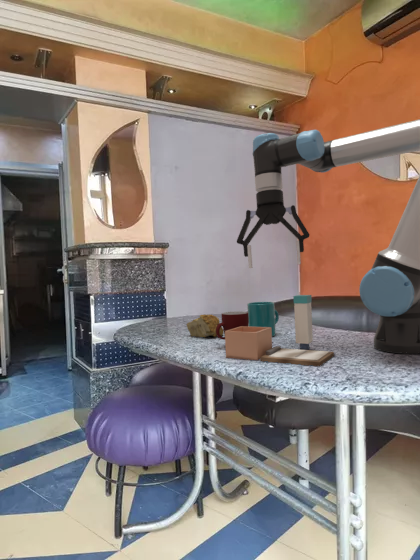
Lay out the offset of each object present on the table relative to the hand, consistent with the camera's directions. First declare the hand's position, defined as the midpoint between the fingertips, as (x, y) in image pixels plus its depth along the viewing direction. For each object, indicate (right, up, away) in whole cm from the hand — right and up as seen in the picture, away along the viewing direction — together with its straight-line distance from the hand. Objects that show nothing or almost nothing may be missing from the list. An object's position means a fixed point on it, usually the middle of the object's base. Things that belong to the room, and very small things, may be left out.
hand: (274, 266), depth 116 cm
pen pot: (-8, -24, -7) cm, 26 cm away
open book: (+4, -24, -13) cm, 27 cm away
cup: (+1, -23, +24) cm, 33 cm away
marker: (+8, -23, -2) cm, 25 cm away
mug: (-11, -24, +6) cm, 27 cm away
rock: (-19, -24, +28) cm, 41 cm away
